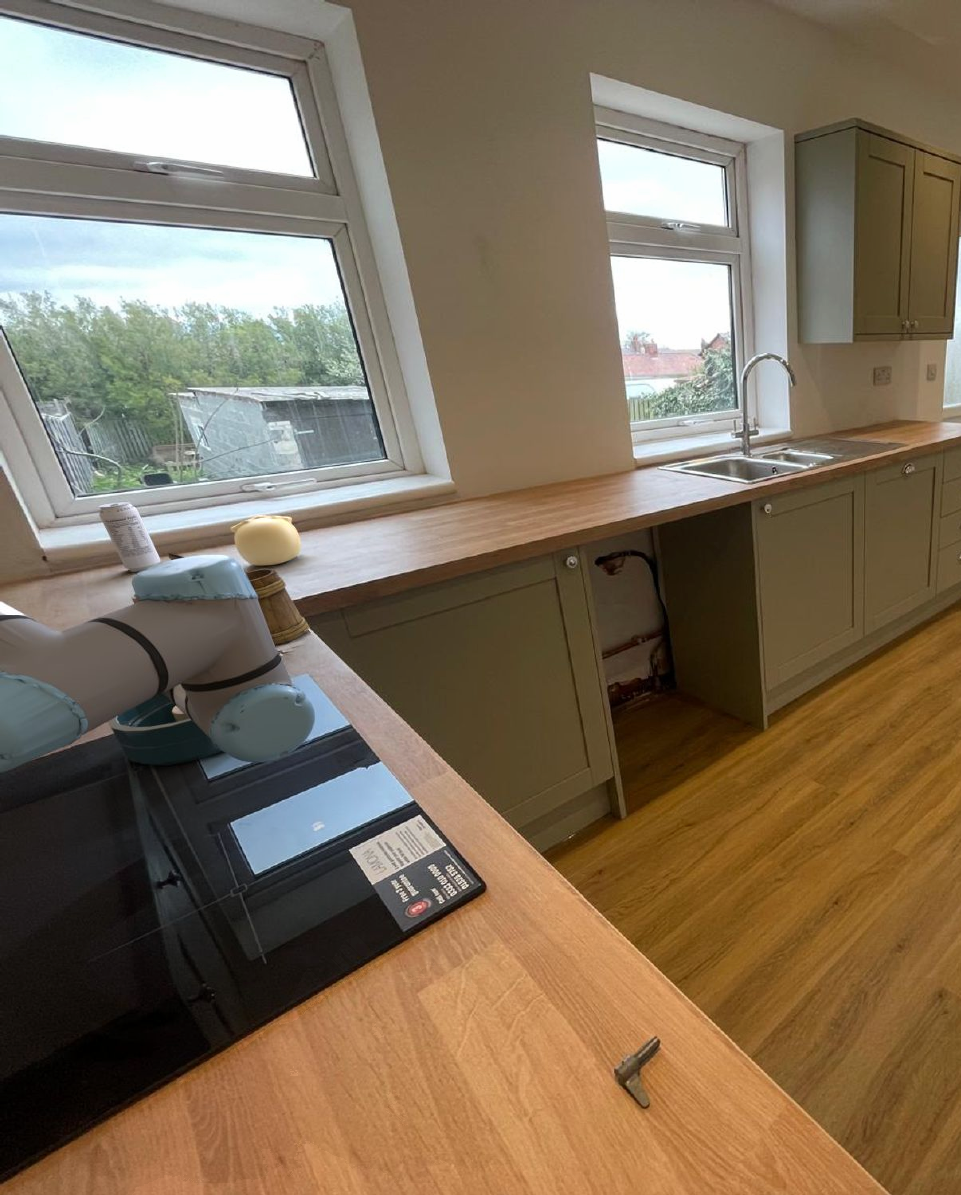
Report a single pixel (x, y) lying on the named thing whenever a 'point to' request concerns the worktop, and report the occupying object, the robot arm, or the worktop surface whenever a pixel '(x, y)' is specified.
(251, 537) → the yellow persimmon
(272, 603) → the wooden mug
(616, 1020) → the worktop surface
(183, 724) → the bowl
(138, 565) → the energy drink can
